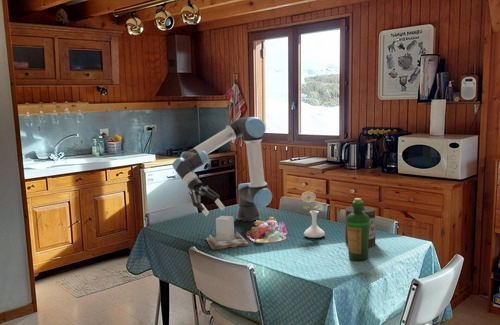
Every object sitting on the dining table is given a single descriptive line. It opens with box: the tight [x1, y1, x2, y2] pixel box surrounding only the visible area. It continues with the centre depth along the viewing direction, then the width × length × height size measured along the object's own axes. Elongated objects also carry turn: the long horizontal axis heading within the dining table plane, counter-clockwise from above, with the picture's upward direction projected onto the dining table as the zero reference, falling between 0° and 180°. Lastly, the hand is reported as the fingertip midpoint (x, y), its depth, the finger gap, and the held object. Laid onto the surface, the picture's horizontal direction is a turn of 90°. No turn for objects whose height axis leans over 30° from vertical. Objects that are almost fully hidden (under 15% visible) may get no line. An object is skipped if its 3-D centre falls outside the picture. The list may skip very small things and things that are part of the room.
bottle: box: [345, 197, 370, 262], centre depth 215 cm, size 11×11×28 cm
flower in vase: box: [300, 190, 326, 239], centre depth 253 cm, size 13×11×25 cm
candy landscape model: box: [244, 216, 288, 244], centre depth 258 cm, size 25×24×9 cm
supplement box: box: [215, 215, 235, 242], centre depth 247 cm, size 7×7×13 cm
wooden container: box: [344, 205, 376, 248], centre depth 237 cm, size 15×15×22 cm
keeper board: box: [205, 231, 250, 251], centre depth 248 cm, size 19×18×3 cm
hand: (215, 211), depth 249 cm, fingers open, 13 cm apart
